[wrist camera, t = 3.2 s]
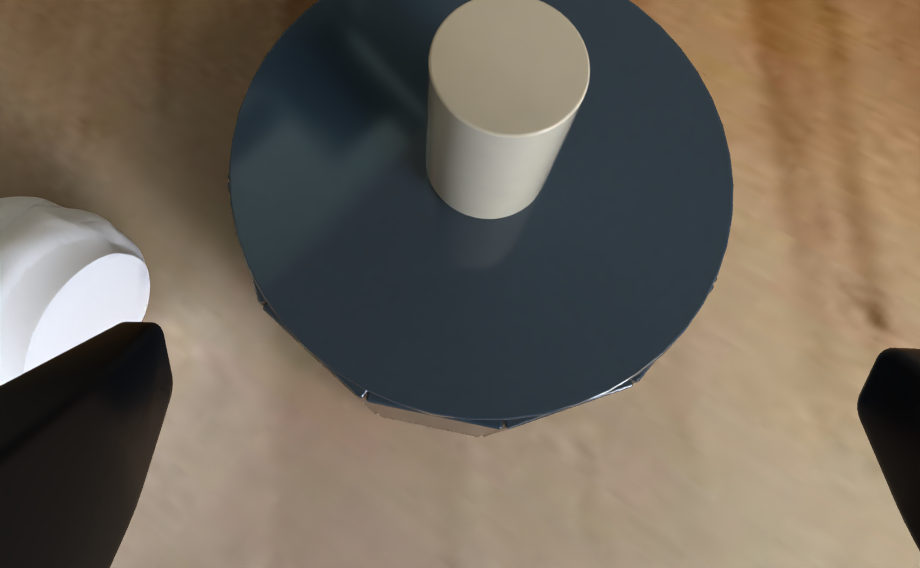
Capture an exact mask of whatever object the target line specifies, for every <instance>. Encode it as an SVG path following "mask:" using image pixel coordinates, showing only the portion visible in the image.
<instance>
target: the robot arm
mask: <svg viewBox="0 0 920 568" xmlns="http://www.w3.org/2000/svg"><path fill="white" fill-rule="evenodd" d="M172 386H173V380H172V373H171V368H170V363H169V358H168V353H167V348H166V343H165V338H164V334H163V331H162V329H161V327H160V326H159V325H158V324H156V323H153V322H121V323H119V324H117V325H115V326H113V327H111V328H109V329H107V330H105V331H104V332H102V333H100V334H98V335H96V336H94V337H92V338H90V339H88V340H86V341H85V342H83V343H81V344H79V345H77V346H75V347H73V348H71V349H69V350H67V351H65V352H64V353H62V354H60V355H58V356H56V357H54V358H52V359H50V360H48V361H46V362H45V363H43V364H41V365H39V366H37V367H35V368H33V369H31V370H29V371H27V372H25V373H24V374H22V375H20V376H18V377H16V378H14V379H12V380H10V381H8V382H6V383H5V384H3V385H1V386H0V568H110V566H111V564H112V562H113V559H114V557H115V555H116V553H117V550H118V548H119V546H120V544H121V541H122V539H123V537H124V535H125V532H126V530H127V528H128V525H129V523H130V521H131V518H132V516H133V513H134V511H135V509H136V506H137V503H138V500H139V497H140V494H141V491H142V488H143V485H144V482H145V479H146V475H147V472H148V469H149V466H150V463H151V459H152V456H153V453H154V450H155V446H156V443H157V440H158V437H159V433H160V430H161V427H162V424H163V421H164V417H165V414H166V411H167V408H168V404H169V401H170V398H171V394H172ZM857 410H858V415H859V418H860V421H861V423H862V425H863V428H864V430H865V432H866V435H867V437H868V439H869V442H870V444H871V446H872V449H873V451H874V453H875V456H876V458H877V460H878V463H879V465H880V467H881V470H882V472H883V474H884V477H885V479H886V481H887V484H888V486H889V488H890V491H891V493H892V495H893V498H894V500H895V502H896V505H897V507H898V509H899V511H900V513H901V516H902V518H903V520H904V522H905V524H906V526H907V528H908V530H909V532H910V534H911V536H912V538H913V539H914V541H915V543H916V545H917V547H918V549H919V550H920V349H910V348H889V349H886V350H884V351H882V352H881V353H880V354H879V355H878V357H877V359H876V361H875V363H874V365H873V367H872V369H871V371H870V374H869V376H868V378H867V380H866V382H865V384H864V386H863V388H862V390H861V393H860V395H859V397H858V402H857Z"/></svg>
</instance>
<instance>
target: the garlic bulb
mask: <svg viewBox="0 0 920 568" xmlns="http://www.w3.org/2000/svg"><path fill="white" fill-rule="evenodd" d="M149 294H150V281H149V273H148V269H147V266H146V265H145V261H144V257H143V255H142V253H141V252H140V250H139V249H138V248H137V246H136V245H135V244H134V243H133V242H132V241H131V240H130V239H129V238H127V237H126V236H125V235H124V234H123V233H122V232H120V231H119V230H118V229H116V228H115V227H114V226H113V225H112V224H111V223H110V222H109V221H108V220H106V219H105V218H103V217H101V216H99V215H97V214H95V213H92V212H88V211H84V210H79V209H71V208H64V207H62V206H60V205H57V204H55V203H53V202H51V201H48V200H46V199H42V198H38V197H25V196H17V197H6V198H1V199H0V386H1V385H3V384H5V383H6V382H8V381H10V380H12V379H14V378H16V377H18V376H20V375H22V374H24V373H25V372H27V371H29V370H31V369H33V368H35V367H37V366H39V365H41V364H43V363H45V362H46V361H48V360H50V359H52V358H54V357H56V356H58V355H60V354H62V353H64V352H65V351H67V350H69V349H71V348H73V347H75V346H77V345H79V344H81V343H83V342H85V341H86V340H88V339H90V338H92V337H94V336H96V335H98V334H100V333H102V332H104V331H105V330H107V329H109V328H111V327H113V326H115V325H117V324H119V323H121V322H141V321H142V319H143V317H144V315H145V313H146V309H147V305H148V301H149Z"/></svg>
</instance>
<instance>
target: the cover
mask: <svg viewBox="0 0 920 568" xmlns="http://www.w3.org/2000/svg"><path fill="white" fill-rule="evenodd" d="M228 179H229V182H228V183H227V187H228V191H229V195H230V204H231V209H232V215H233V220H234V225H235V230H236V235H237V238H238V241H239V244H240V247H241V249H242V252H243V255H244V258H245V261H246V264H247V266H248V268H249V270H250V272H251V276H252V280H253V283H254V287H255V291H256V294H257V298H258V302H259V303H260V304H261V305H262V306H263V310H264V311H265V312H266V313H267V314H269V315H270V316H271V317H272V318H273V319H274V320H275V321H276V322H277V323H278V324H279V325H280V326H281V327H282V328H283V329H284V330H285V331H286V332H287V333H288V334H290V335H291V336H292V337H293V338H294V339H295V340H296V341H297V342H298V343H299V344H300V345H301V346H302V347H303V348H304V349H305V350H306V351H307V352H309V353H310V354H311V355H312V356H313V357H314V358H315V359H316V360H317V361H318V362H319V363H321V364H322V365H323V366H324V367H325V368H326V369H327V370H328V371H329V372H330V373H331V374H332V375H334V376H335V377H336V378H337V379H338V380H339V381H340V382H341V383H342V384H343V385H344V386H345V387H347V388H348V389H349V390H350V391H351V392H352V393H353V394H354V395H355V396H356V397H357V398H358V399H360V400H361V401H362V402H363V403H364V404H365V405H366V406H367V407H368V408H369V409H370V410H371V411H373V412H374V413H375V414H377V413H378V414H379V415H380V416H381V417H384V418H389V419H393V420H398V421H403V422H408V423H413V424H417V425H422V426H427V427H432V428H436V429H441V430H446V431H451V432H456V433H460V434H465V435H470V436H475V437H479V436H484V437H485V436H488V435H492V434H495V433H498V432H502V431H505V430H508V429H511V428H514V427H517V426H520V425H523V424H526V423H529V422H531V421H534V420H537V419H540V418H543V417H546V416H549V415H552V414H555V413H557V412H560V411H563V410H566V409H569V408H572V407H575V406H578V405H581V404H584V403H586V402H589V401H592V400H595V399H598V398H601V397H604V396H607V395H610V394H612V393H615V392H618V391H621V390H624V389H627V388H630V387H632V386H633V383H636V382H638V381H640V379H641V378H642V377H643V376H644V374H645V373H646V372H647V371H648V369H649V368H650V367H651V366H652V364H653V363H654V362H655V361H656V360H657V359H658V358H659V357H660V356H662V355H663V354H664V353H665V352H666V351H667V350H668V348H669V347H670V346H671V345H672V344H673V343H674V342H675V341H676V340H677V339H678V338H679V337H680V335H681V334H682V333H683V332H684V331H685V330H686V329H687V327H688V326H689V324H690V323H691V321H692V320H693V318H694V317H695V316H696V314H697V313H698V311H699V310H700V308H701V307H702V305H703V304H704V302H705V300H706V298H707V296H708V294H709V293H710V292H711V291H712V289H713V287H714V286H713V284H714V282H716V280H717V276H718V273H719V269H720V266H721V263H722V260H723V257H724V254H725V251H726V248H727V244H728V238H729V232H730V226H731V220H732V211H733V177H732V168H731V159H730V153H729V149H728V145H727V141H726V136H725V132H724V128H723V125H722V122H721V120H720V117H719V115H718V112H717V110H716V107H715V104H714V102H713V99H712V97H711V95H710V94H709V92H708V90H707V88H706V86H705V84H704V83H703V81H702V79H701V77H700V75H699V73H698V72H697V70H696V69H695V67H694V66H693V65H692V63H691V62H690V60H689V59H688V58H687V56H686V55H685V54H684V52H683V51H682V49H681V48H680V47H679V46H678V45H677V44H676V42H675V41H674V40H673V39H672V38H671V37H670V36H669V35H668V34H667V33H666V32H665V30H664V29H663V28H662V27H661V26H660V25H659V24H658V23H656V22H655V21H654V20H653V19H652V18H651V17H649V16H648V15H647V14H646V13H645V12H644V11H643V10H641V9H640V8H639V7H638V6H636V5H635V4H634V3H632V2H631V1H629V0H319V1H318V2H316V3H315V4H314V5H312V6H311V7H310V8H309V9H307V10H306V11H305V12H304V13H303V14H302V15H301V16H300V17H299V18H298V19H297V20H296V21H295V22H294V23H293V24H292V25H291V26H290V27H289V28H288V29H287V30H286V31H285V32H284V33H283V34H282V35H281V37H280V38H279V39H278V41H277V42H276V43H275V44H274V46H273V47H272V48H271V50H270V51H269V52H268V54H267V55H266V56H265V58H264V60H263V61H262V63H261V65H260V67H259V68H258V70H257V72H256V74H255V75H254V77H253V79H252V81H251V83H250V85H249V88H248V90H247V93H246V95H245V98H244V100H243V102H242V105H241V107H240V110H239V114H238V118H237V122H236V126H235V130H234V134H233V138H232V144H231V155H230V165H229V173H228Z"/></svg>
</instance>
